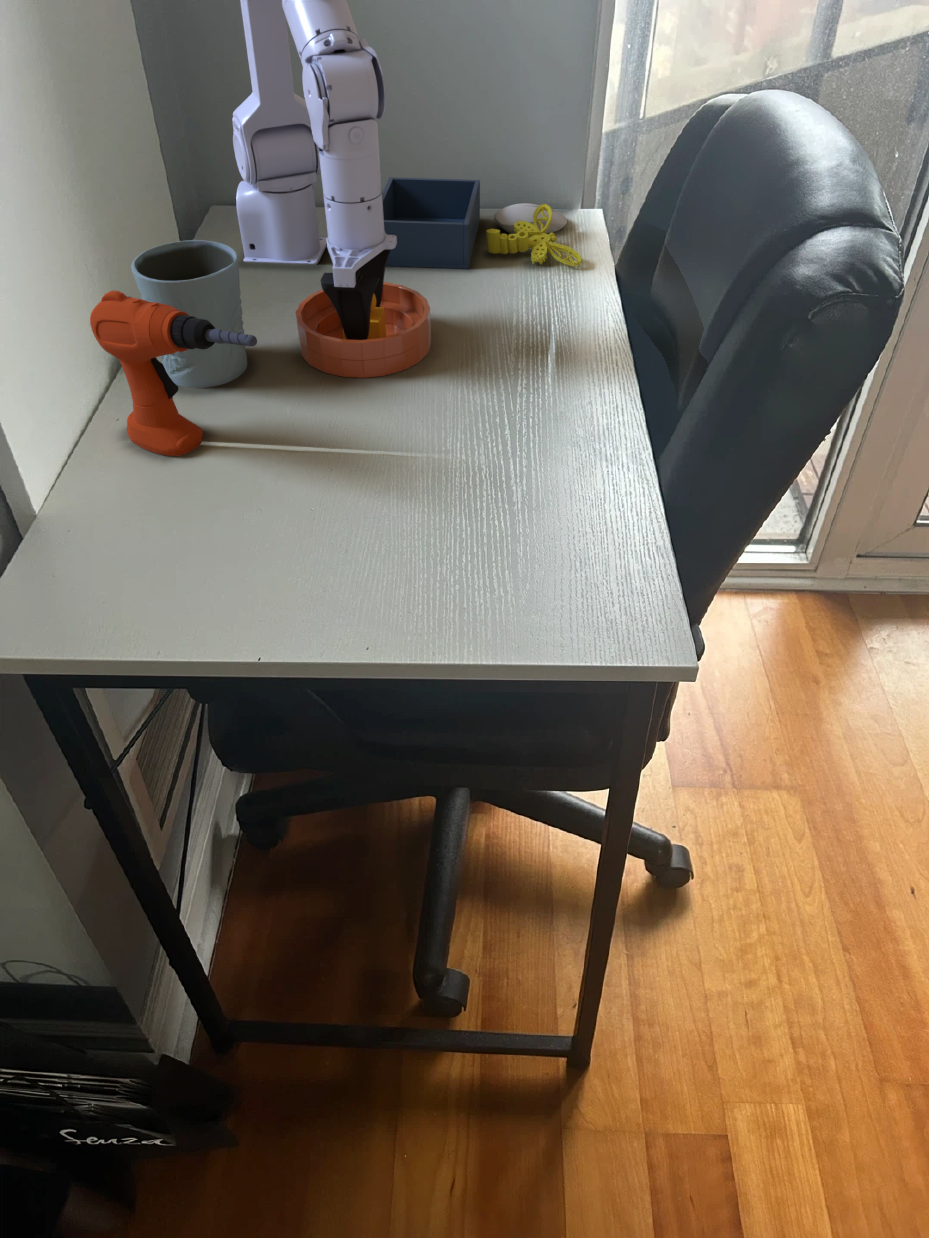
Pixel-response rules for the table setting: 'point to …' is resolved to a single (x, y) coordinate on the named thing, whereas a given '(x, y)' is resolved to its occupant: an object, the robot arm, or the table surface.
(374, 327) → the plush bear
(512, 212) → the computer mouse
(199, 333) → the toy drill
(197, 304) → the grey blue pot
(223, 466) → the table surface
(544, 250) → the decorative insect
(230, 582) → the table surface
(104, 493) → the table surface
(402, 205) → the bin
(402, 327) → the bowl
